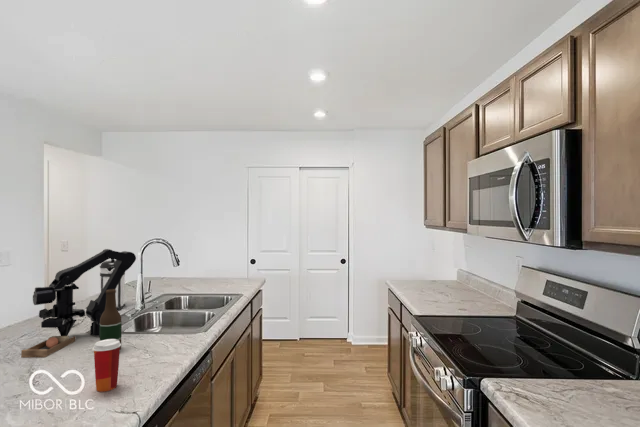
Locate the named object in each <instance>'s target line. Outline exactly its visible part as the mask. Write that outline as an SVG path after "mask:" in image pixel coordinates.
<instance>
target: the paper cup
mask: <svg viewBox="0 0 640 427" xmlns="http://www.w3.org/2000/svg"><path fill="white" fill-rule="evenodd" d="M120 346H121V347H122V342H121V343H120V341H119V340H117V339H106V340H102V341H96V342H95V343H94V345H93V347H92V349H91V350H92V351H93V357H94V359H93V360H94V362H93V363H94V373H95V374H94V377H95V390H96V391H97V392H98V393H99V392H100V393H105V392H109V391H110V392H111V391H112V390H114V389H116V388H117V386H118V378H119V366H120Z"/></svg>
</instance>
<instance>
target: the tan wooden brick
mask: <svg viewBox="0 0 640 427" xmlns="http://www.w3.org/2000/svg"><path fill="white" fill-rule="evenodd" d="M51 337H55V338H57V339H58V344H60V343H62V342H64V341H66V340H68V339H70V337H69V335H67V336H61V335H52V336H50V337H49V338H51Z"/></svg>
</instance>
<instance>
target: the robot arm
mask: <svg viewBox="0 0 640 427" xmlns="http://www.w3.org/2000/svg"><path fill="white" fill-rule="evenodd" d="M109 259H110V260H111V259H114V260H116V262H115V268H114V270H113V272H112V274H111V276H110V277H109V279H108V281H107V283H106V284H105V286H104V288H103V290H102V291H101V293H100V292H99V294H98V297H97V298H96V299H95V300H93V299H90V301H89V303H88V305H87V307H86V306H85V309H86V310H85V309H83V308H76V309H73V305H75V304H76V301H75V302H74V290H79V289H80V287H79V286H78V285H76V283H75V282H76V281H77V280H79V279H80V278H81V276H82V275H83V274H85V273H86V272H89V271H91V270H92V269H94V268H95V267H97V266H100V265H101V264H102V263H103V262H105V261H109ZM136 260H137V256H136V255H135V253H134V252H132V251H126V250H124V251H121V252H120V251H116V250H112V249H109V248H105V249H103V250H102V251H100V252H99V253H96V254H95V255H93V256H92V257H89V258H87V259H86V260H84V261H82V262H80V263H78V264H76V265H74V266H70V267H66V268H64V269H62V270H59V271H57V272H56V273H55V277H54V279H53V280H52V282H50V284H49V285H48V286H44V287H41V286H40V287H39V286H36V287H35V288H34V291H33V295H32V304H33V305H34V306H38V305H46V304H52V303H53V302H55V303H54V304H53V305H52V308H51V309H47V308H44V309H41V310H39V312H38V317H39V318H40V319H42V321H41V323H40V327H41V328H46V329H51V328H54V329H56V328H57V330H58V332H59V334H60V335H59V336H69V334H70V332H71V330H72V328H73V327H74V326H73V325H74V323H75V324H76V322H77V319H75V320H73V317H74V316H76V317H77V316H78V317H79V318H82V317H83V318H84V316H86V317H87V318H89V319H90V321H91V325H90V327H89V328H90V332H89V334H90V335H91V336H94V337H95V336H96V337H99V334H100V318H101V315H102V313H103V312H104V311H105V306H106V290H108V289H116V287H117V285H118V283H119V282H120V280H121V278H122V276H123V274H124V273H125V274H126V271H128V270H129V269H130V268H132V266H133V264H134V263H135V261H136ZM72 326H73V327H72Z"/></svg>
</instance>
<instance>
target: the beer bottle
mask: <svg viewBox="0 0 640 427" xmlns="http://www.w3.org/2000/svg"><path fill="white" fill-rule="evenodd" d="M115 293H116V290H115V289H108V290H106V306H105V311H104V312H103V313H102V315H101V318H100V334H99V336H98V337H99V338H98V339H99V341H102V340H106V339H117V340H119V341H120V343H121V344H122V324H123V321H122V315H121V314H120V311H118V309H117V308H116V295H115ZM120 350H122V345H121V346H120Z"/></svg>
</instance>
